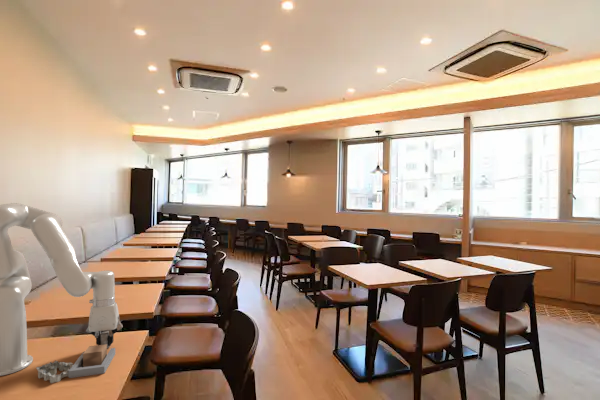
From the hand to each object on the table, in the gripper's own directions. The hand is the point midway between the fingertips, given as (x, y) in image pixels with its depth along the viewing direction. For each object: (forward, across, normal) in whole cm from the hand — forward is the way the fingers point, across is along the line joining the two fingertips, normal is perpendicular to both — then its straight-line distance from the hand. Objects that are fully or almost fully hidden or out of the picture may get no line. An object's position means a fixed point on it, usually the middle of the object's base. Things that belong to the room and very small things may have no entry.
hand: (105, 344), depth 130 cm
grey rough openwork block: (+2, -11, -17) cm, 20 cm away
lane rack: (+1, 0, -12) cm, 12 cm away
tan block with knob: (+1, 0, -6) cm, 6 cm away
